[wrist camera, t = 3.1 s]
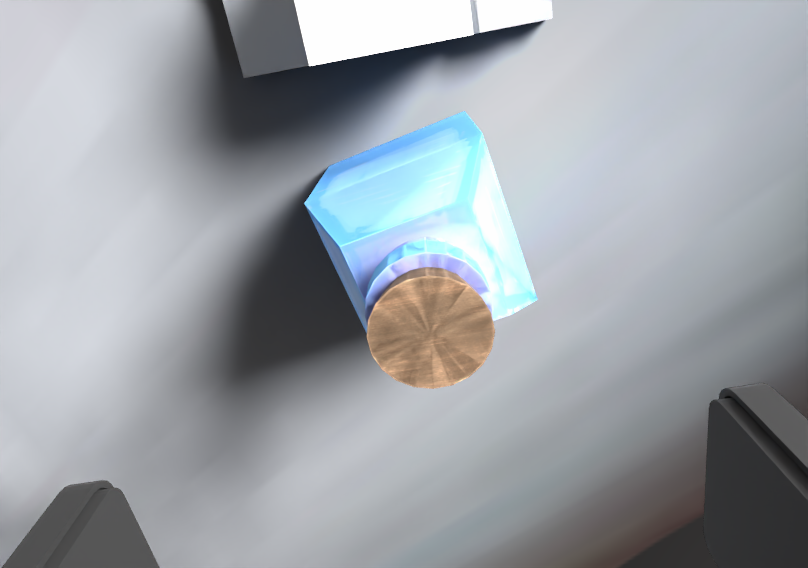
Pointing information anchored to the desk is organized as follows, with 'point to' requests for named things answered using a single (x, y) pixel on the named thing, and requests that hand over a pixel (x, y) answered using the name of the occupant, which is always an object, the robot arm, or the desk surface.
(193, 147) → the desk surface
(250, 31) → the module rail
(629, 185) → the desk surface
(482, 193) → the perfume bottle
